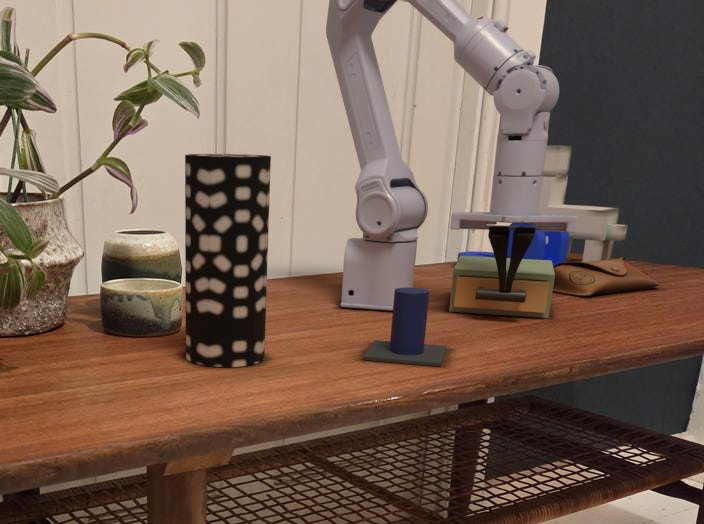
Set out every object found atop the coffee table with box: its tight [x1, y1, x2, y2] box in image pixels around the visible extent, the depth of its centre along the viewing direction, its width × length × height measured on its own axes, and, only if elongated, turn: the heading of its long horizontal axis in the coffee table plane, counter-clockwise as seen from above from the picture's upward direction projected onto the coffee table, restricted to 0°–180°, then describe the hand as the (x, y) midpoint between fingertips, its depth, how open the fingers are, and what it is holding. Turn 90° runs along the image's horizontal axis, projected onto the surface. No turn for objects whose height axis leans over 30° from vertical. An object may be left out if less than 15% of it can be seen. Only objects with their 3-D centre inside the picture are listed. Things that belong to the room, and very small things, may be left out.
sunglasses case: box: [553, 256, 661, 297], centre depth 135 cm, size 18×7×7 cm
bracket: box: [456, 223, 569, 266], centre depth 150 cm, size 18×8×9 cm, turn 36°
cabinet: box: [448, 256, 555, 319], centre depth 121 cm, size 14×13×6 cm
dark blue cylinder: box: [389, 287, 430, 355], centre depth 94 cm, size 4×4×6 cm
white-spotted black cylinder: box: [184, 153, 272, 368], centre depth 89 cm, size 8×8×20 cm
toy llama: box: [539, 145, 628, 262], centre depth 156 cm, size 8×18×20 cm, turn 49°
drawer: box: [454, 276, 549, 313], centre depth 117 cm, size 17×11×4 cm
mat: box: [362, 339, 448, 368], centre depth 95 cm, size 8×8×1 cm
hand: (504, 290), depth 110 cm, fingers closed, pressing on drawer
